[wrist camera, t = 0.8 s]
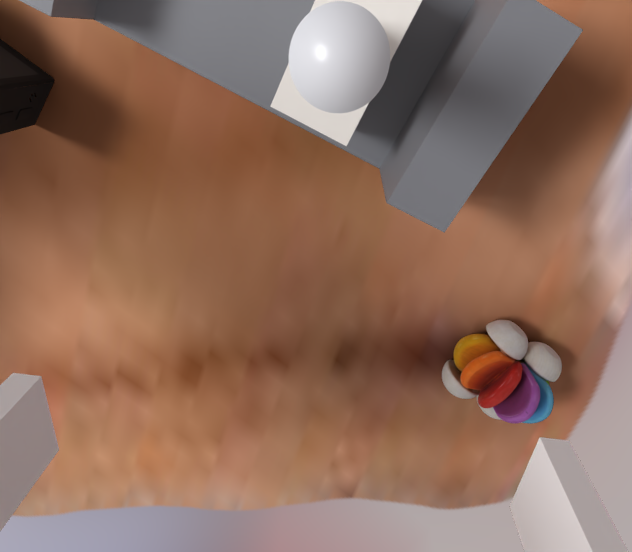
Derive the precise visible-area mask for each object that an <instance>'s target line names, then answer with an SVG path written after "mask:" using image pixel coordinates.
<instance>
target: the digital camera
mask: <svg viewBox="0 0 632 552" xmlns="http://www.w3.org/2000/svg"><path fill="white" fill-rule="evenodd" d="M51 82H52V83H51ZM44 83H46V84H44ZM53 83H54V79H53V77H51V76H50V75H48V74H47V73H46V72H44V71H43V70H42V69H40V68H39V67H38V66H36V65H35V64H33V63H32V62H31V61H29V60H28V59H27V58H25V57H24V56H23V55H21V54H20V53H19V52H17V51H16V50H14V49H13V48H12V47H10V46H9V45H8V44H6V43H5V42H4V41H2V40H1V39H0V134H3V133H7V132H10V131H14V130H17V129H21V128H24V127H28V126H31V125H35V123H36V121H37V118H38V116H39V114H40V112H41V110H42V107H43V105H44V103H45V101H46V99H47V97H48V94H49V92H50V90H51V88H52V86H53ZM25 86H26V87H25ZM31 94H32V96H31ZM35 95H36V97H35ZM29 98H30V99H31V100H29Z"/></svg>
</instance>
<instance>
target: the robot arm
mask: <svg viewBox="0 0 632 552" xmlns="http://www.w3.org/2000/svg"><path fill="white" fill-rule="evenodd" d="M58 451H59V448H58V444H57V439H56V435H55V431H54V427H53V423H52V419H51V415H50V410H49V406H48V402H47V398H46V394H45V390H44V386H43V382H42V377H41V376H34V375H26V374H18V373H12V374H11V375H10V376H9V377H8V378H7V379H6V380H5V381H4V382H3V383H2V384H1V385H0V531H1V530H2V528H3V527H4V526H5V524H6V523H7V521H8V520H9V519H10V517H11V516H12V514H13V513H14V512H15V510H16V509H17V508H18V506H19V505H20V503H21V502H22V501H23V499H24V498H25V496H26V495H27V494H28V492H29V491H30V489H31V488H32V487H33V485H34V484H35V483H36V481H37V480H38V478H39V477H40V476H41V474H42V473H43V471H44V470H45V469H46V467H47V466H48V464H49V463H50V462H51V460H52V459H53V458H54V456H55V455H56V453H57V452H58ZM510 510H511V513H512V516H513V519H514V522H515V525H516V528H517V531H518V534H519V537H520V540H521V543H522V546H523V550H524V552H629V551H628V549H627V548H626V546H625V544H624V542H623V540H622V538H621V536H620V534H619V532H618V531H617V529H616V527H615V525H614V523H613V521H612V519H611V517H610V516H609V514H608V512H607V510H606V508H605V506H604V504H603V502H602V501H601V499H600V497H599V495H598V493H597V491H596V489H595V487H594V485H593V484H592V482H591V480H590V478H589V476H588V474H587V472H586V470H585V468H584V467H583V465H582V463H581V461H580V459H579V457H578V456H577V454H576V452H575V450H574V448H573V446H572V444H571V442H570V441H567V440H559V439H551V438H543V437H540V438H539V440H538V442H537V445H536V447H535V449H534V452H533V454H532V456H531V458H530V461H529V463H528V465H527V468H526V470H525V472H524V475H523V477H522V479H521V481H520V484H519V486H518V488H517V491H516V493H515V495H514V497H513V500H512V502H511V505H510Z"/></svg>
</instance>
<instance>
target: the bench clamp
mask: <svg viewBox="0 0 632 552" xmlns="http://www.w3.org/2000/svg"><path fill="white" fill-rule="evenodd" d="M20 1H22V2H24V3H26V4H27V5H29V6H31V7H33V8H35V9H37V10H39V11H41V12H43V13H45V14H47V15H49V16H51V17H65V18H80V19H94V20H96V21H98V22H100V23H102V24H103V25H105V26H107V27H109V28H111V29H113V30H115V31H117V32H119V33H121V34H123V35H125V36H126V37H128V38H130V39H132V40H134V41H136V42H138V43H140V44H142V45H144V46H146V47H148V48H149V49H151V50H153V51H155V52H157V53H159V54H161V55H163V56H165V57H167V58H169V59H171V60H172V61H174V62H176V63H178V64H180V65H182V66H184V67H186V68H188V69H190V70H192V71H193V72H195V73H197V74H199V75H201V76H203V77H205V78H207V79H209V80H211V81H213V82H215V83H216V84H218V85H220V86H222V87H224V88H226V89H228V90H230V91H232V92H234V93H236V94H238V95H239V96H241V97H243V98H245V99H247V100H249V101H251V102H253V103H255V104H257V105H259V106H261V107H262V108H264V109H266V110H268V111H270V112H272V113H274V114H276V115H278V116H280V117H282V118H283V119H285V120H287V121H289V122H291V123H293V124H295V125H297V126H299V127H301V128H303V129H305V130H306V131H308V132H310V133H312V134H314V135H316V136H318V137H320V138H322V139H324V140H326V141H328V142H329V143H331V144H333V145H335V146H337V147H339V148H341V149H343V150H345V151H347V152H349V153H351V154H352V155H354V156H356V157H358V158H360V159H362V160H364V161H366V162H368V163H370V164H372V165H373V166H375V167H377V168H379V169H380V173H381V178H382V183H383V188H384V193H385V198H386V203H388V204H390V205H392V206H394V207H396V208H397V209H399V210H401V211H403V212H405V213H407V214H409V215H411V216H413V217H415V218H417V219H419V220H421V221H423V222H425V223H427V224H429V225H431V226H433V227H435V228H437V229H439V230H441V231H443V232H445V231H446V229H447V228H448V226H449V225H450V224H451V222H452V221H453V219H454V218H455V216H456V215H457V213H458V212H459V210H460V209H461V208H462V206H463V205H464V203H465V202H466V200H467V199H468V197H469V196H470V194H471V193H472V191H473V190H474V189H475V187H476V186H477V184H478V183H479V181H480V180H481V178H482V177H483V175H484V174H485V173H486V171H487V170H488V168H489V167H490V165H491V164H492V162H493V161H494V159H495V158H496V156H497V155H498V154H499V152H500V151H501V149H502V148H503V146H504V145H505V143H506V142H507V140H508V139H509V138H510V136H511V135H512V133H513V132H514V130H515V129H516V127H517V126H518V124H519V123H520V121H521V120H522V119H523V117H524V116H525V114H526V113H527V111H528V110H529V108H530V107H531V105H532V104H533V103H534V101H535V100H536V98H537V97H538V95H539V94H540V92H541V91H542V89H543V88H544V86H545V85H546V84H547V82H548V81H549V79H550V78H551V76H552V75H553V73H554V72H555V70H556V69H557V68H558V66H559V65H560V63H561V62H562V60H563V59H564V57H565V56H566V54H567V53H568V51H569V50H570V49H571V47H572V46H573V44H574V43H575V41H576V40H577V38H578V37H579V35H580V34H581V33H582V31H583V30H582V29H581V28H579V27H577V26H576V25H574V24H573V23H571V22H569V21H568V20H566V19H565V18H563V17H561V16H560V15H558V14H557V13H555V12H553V11H552V10H550V9H548V8H547V7H545V6H544V5H542V4H540V3H539V2H537V1H536V0H422V2H421V4H420V6H419V8H418V9H417V11H416V13H415V15H414V17H413V19H412V21H411V23H410V25H409V27H408V29H407V31H406V33H405V35H404V36H403V38H402V40H401V42H400V44H399V46H398V48H397V50H396V52H395V54H394V56H393V58H392V60H391V61H390V66H389V71H388V74H387V77H386V80H385V82H384V84H383V86H382V88H381V89H380V91H379V92H378V94H377V95H376V96H375V97H374V98H373V99H372V100H371V101H370V102H369V104H368V106H367V108H366V110H365V111H364V113H363V115H362V117H361V119H360V121H359V123H358V125H357V127H356V129H355V131H354V133H353V135H352V137H351V138H350V140H349V142H348V144H347V146H345V145H343V144H341V143H339V142H337V141H335V140H333V139H331V138H330V137H328V136H326V135H324V134H322V133H320V132H318V131H316V130H314V129H312V128H310V127H309V126H307V125H305V124H303V123H301V122H299V121H297V120H295V119H293V118H291V117H289V116H288V115H286V114H284V113H282V112H280V111H278V110H276V109H274V108H272V107H270V106H271V103H272V101H273V99H274V96H275V94H276V92H277V89H278V87H279V85H280V82H281V80H282V77H283V75H284V73H285V70H286V68H287V66H288V63H289V48H290V43H291V40H292V37H293V34H294V32H295V30H296V28H297V27H298V25H299V24H300V22H301V21H302V20H303V19H304V17H305V16H306V15H307V14H309V13H310V11H311V9H312V6H313V4H314V1H315V0H20Z"/></svg>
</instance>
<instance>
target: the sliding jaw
mask: <svg viewBox="0 0 632 552" xmlns="http://www.w3.org/2000/svg"><path fill="white" fill-rule="evenodd" d="M421 2H422V0H315V1H314V4H313V6H312V9H311V11H310V13H309V14H307V15H306V16H305V17H304V19H303V20H302V21H301V22H300V24H299V25H298V27H297V28H296V30H295V32H294V34H293V37H292V40H291V43H290V48H289V63H288V66H287V68H286V70H285V73H284V75H283V77H282V80H281V82H280V85H279V87H278V89H277V92H276V94H275V96H274V99H273V101H272V103H271V106H270V107H272V108H274V109H276V110H278V111H280V112H282V113H284V114H286V115H288V116H289V117H291V118H293V119H295V120H297V121H299V122H301V123H303V124H305V125H307V126H309V127H310V128H312V129H314V130H316V131H318V132H320V133H322V134H324V135H326V136H328V137H330V138H331V139H333V140H335V141H337V142H339V143H341V144H343V145H345V146H347V144H348V142H349V140H350V138H351V137H352V135H353V133H354V131H355V129H356V127H357V125H358V123H359V121H360V119H361V117H362V115H363V113H364V111H365V110H366V108H367V106H368V104H369V102H370V101H371V100H372V99H373V98H374V97H375V96H376V95H377V94H378V92H379V91H380V89H381V88H382V86H383V84H384V82H385V80H386V77H387V74H388V71H389V66H390V61H391V60H392V58H393V56H394V54H395V52H396V50H397V48H398V46H399V44H400V42H401V40H402V38H403V36H404V35H405V33H406V31H407V29H408V27H409V25H410V23H411V21H412V19H413V17H414V15H415V13H416V11H417V9H418V8H419V6H420V4H421Z"/></svg>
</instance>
